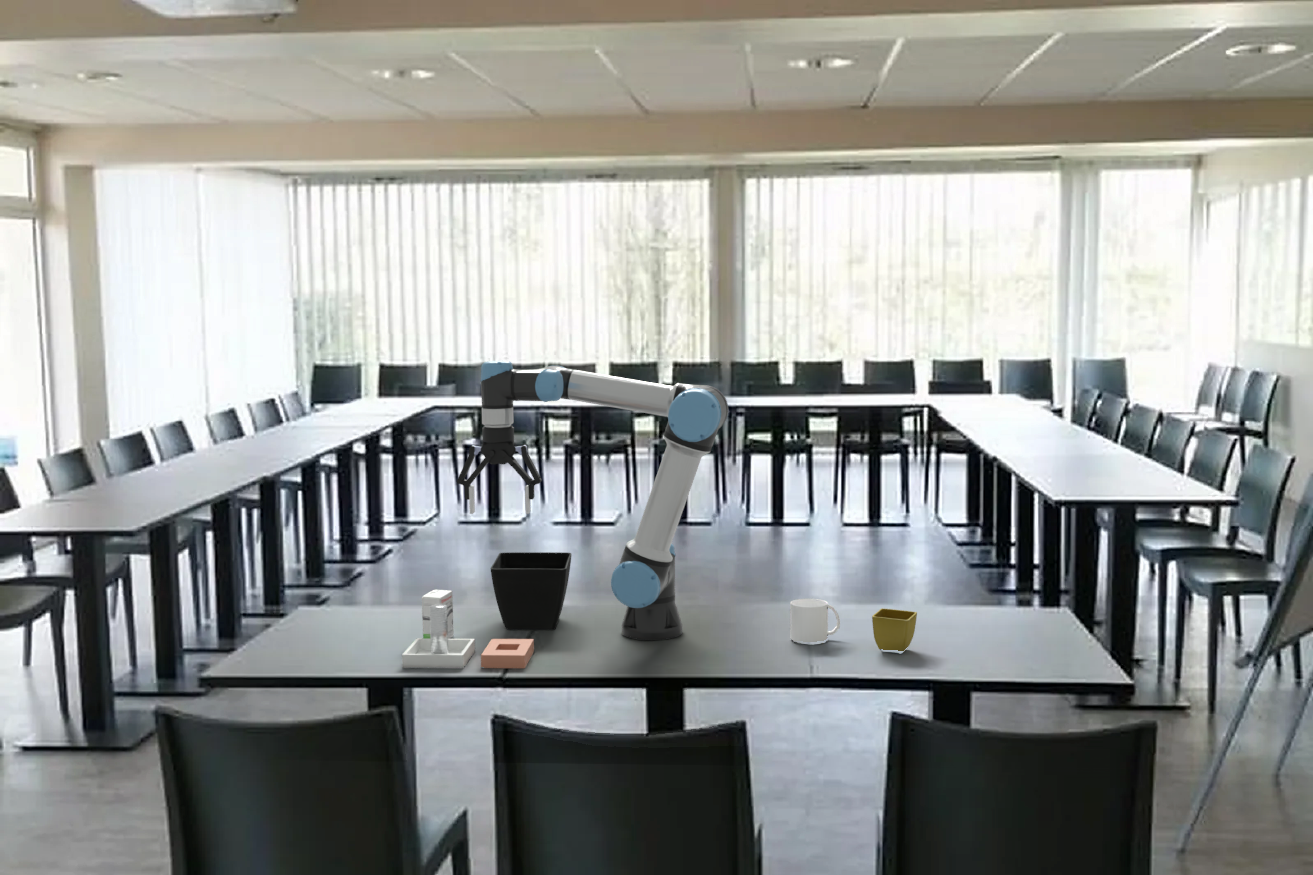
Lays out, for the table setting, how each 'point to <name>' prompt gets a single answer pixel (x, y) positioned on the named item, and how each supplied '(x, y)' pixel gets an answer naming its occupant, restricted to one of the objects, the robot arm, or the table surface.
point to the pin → (438, 629)
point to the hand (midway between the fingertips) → (500, 513)
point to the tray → (422, 657)
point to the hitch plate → (507, 653)
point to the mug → (810, 620)
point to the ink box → (437, 599)
